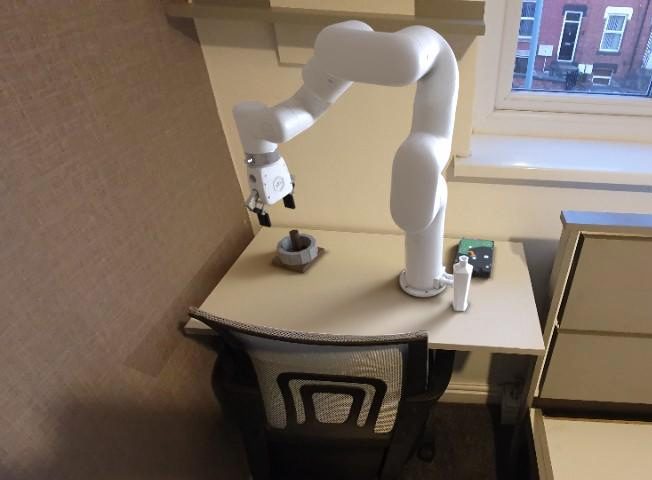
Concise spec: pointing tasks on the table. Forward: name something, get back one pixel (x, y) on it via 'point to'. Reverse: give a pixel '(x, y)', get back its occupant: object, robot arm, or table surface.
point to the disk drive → (477, 255)
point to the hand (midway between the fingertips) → (278, 216)
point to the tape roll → (297, 257)
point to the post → (297, 248)
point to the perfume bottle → (461, 283)
